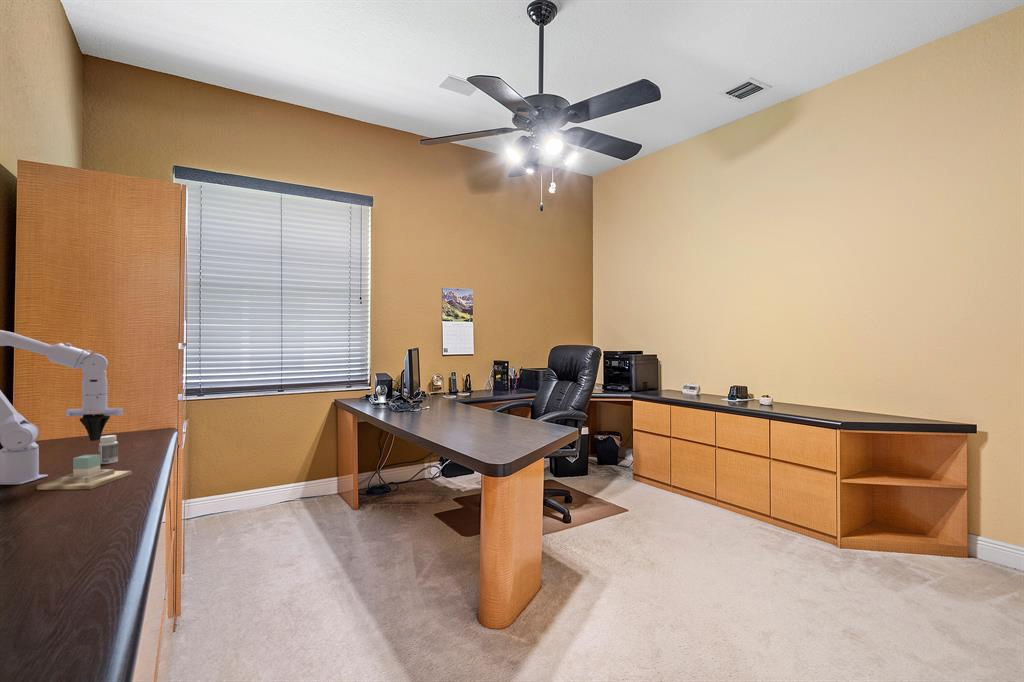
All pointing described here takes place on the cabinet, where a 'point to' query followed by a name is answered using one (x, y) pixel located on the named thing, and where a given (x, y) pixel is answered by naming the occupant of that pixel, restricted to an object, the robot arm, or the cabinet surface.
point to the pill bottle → (108, 449)
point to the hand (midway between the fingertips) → (95, 440)
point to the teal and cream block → (86, 465)
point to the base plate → (84, 480)
